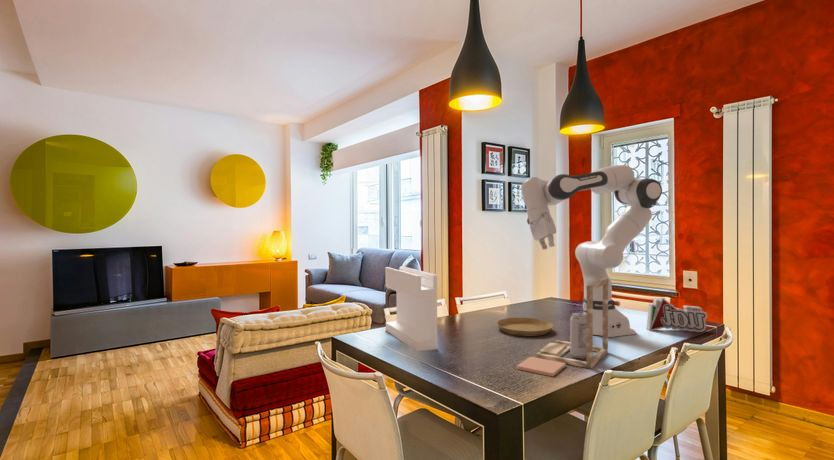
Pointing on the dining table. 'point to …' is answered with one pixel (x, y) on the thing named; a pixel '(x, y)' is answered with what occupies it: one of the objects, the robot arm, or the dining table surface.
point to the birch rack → (588, 331)
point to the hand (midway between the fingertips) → (548, 248)
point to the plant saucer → (524, 326)
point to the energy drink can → (578, 335)
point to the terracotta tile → (541, 366)
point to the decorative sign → (675, 317)
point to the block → (414, 307)
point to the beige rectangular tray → (555, 349)
